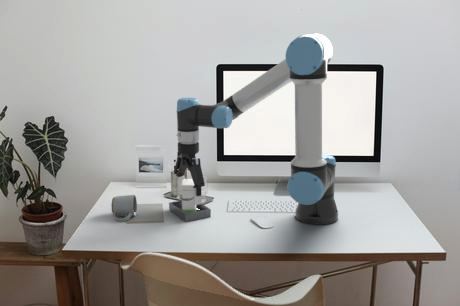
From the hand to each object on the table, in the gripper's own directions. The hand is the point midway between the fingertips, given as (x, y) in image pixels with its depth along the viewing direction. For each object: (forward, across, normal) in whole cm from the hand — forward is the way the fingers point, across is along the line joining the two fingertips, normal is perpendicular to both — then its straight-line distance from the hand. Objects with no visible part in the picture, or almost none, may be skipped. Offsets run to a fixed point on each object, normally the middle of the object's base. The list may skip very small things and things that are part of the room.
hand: (189, 198), depth 206 cm
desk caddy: (+6, 0, 0) cm, 6 cm away
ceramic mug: (+6, -9, -22) cm, 24 cm away
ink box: (+6, 0, 0) cm, 6 cm away
